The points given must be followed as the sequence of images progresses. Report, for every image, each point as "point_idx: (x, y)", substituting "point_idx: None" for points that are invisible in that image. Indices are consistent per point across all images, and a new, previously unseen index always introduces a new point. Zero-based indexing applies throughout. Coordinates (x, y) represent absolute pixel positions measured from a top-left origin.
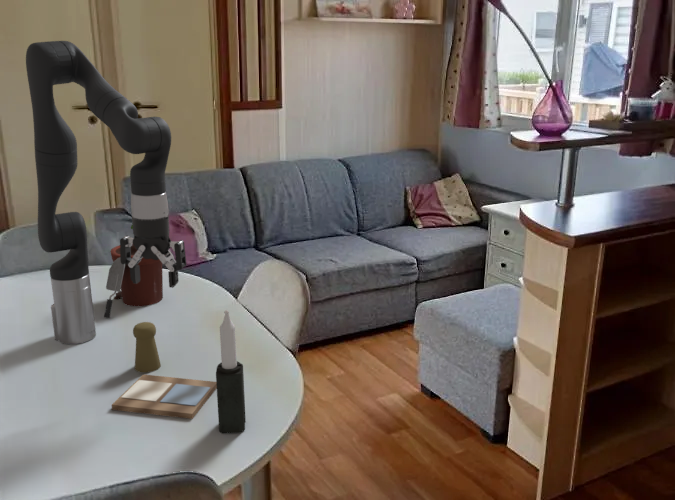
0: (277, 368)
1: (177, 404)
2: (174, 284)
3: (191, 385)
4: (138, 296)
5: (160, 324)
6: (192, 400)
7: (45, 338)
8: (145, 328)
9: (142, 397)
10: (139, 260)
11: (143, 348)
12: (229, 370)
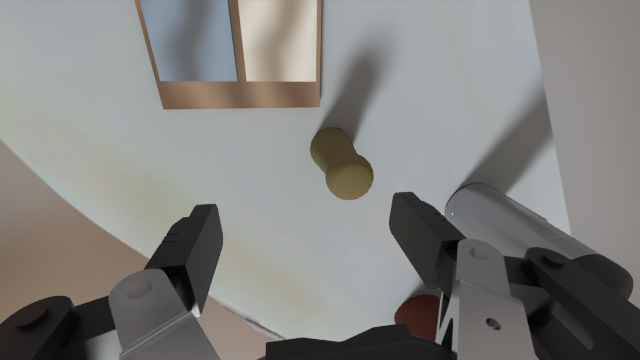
0: (104, 197)
1: None
2: (184, 219)
3: (203, 80)
4: (423, 309)
5: (369, 266)
6: (159, 12)
7: (509, 191)
8: (343, 169)
9: (272, 5)
10: (443, 315)
11: (338, 147)
12: None
